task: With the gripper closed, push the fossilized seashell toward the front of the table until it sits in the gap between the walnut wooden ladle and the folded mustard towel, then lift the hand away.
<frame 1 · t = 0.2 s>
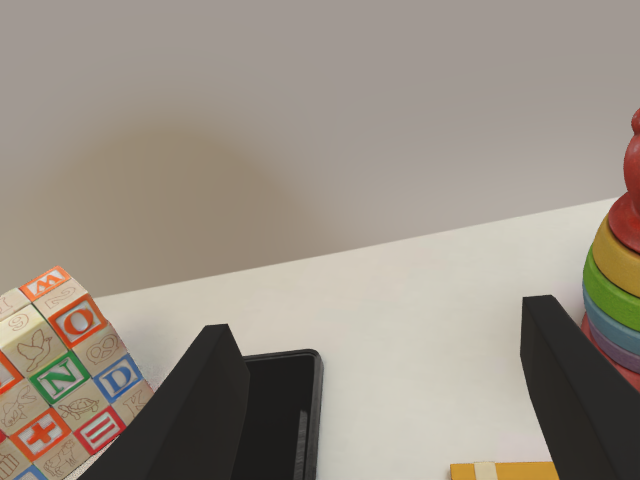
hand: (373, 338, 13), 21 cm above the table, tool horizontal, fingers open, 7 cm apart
phone: (266, 446, 36), on the table
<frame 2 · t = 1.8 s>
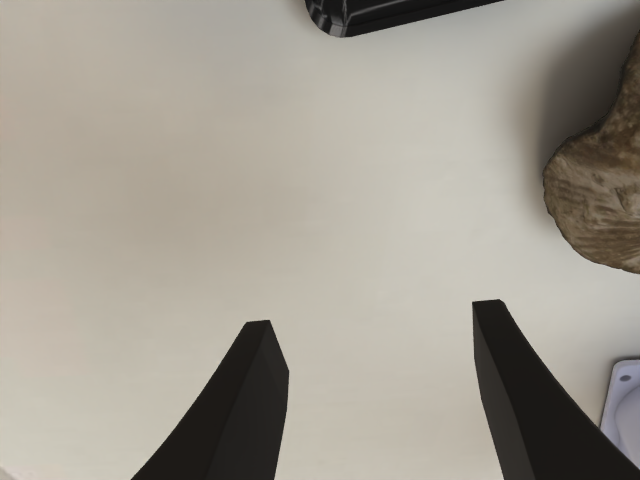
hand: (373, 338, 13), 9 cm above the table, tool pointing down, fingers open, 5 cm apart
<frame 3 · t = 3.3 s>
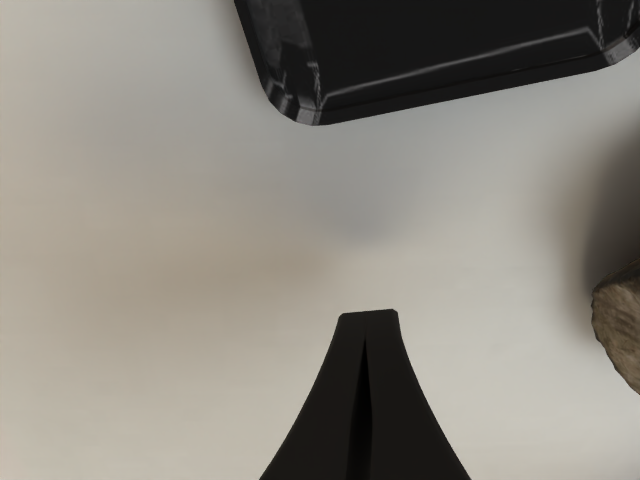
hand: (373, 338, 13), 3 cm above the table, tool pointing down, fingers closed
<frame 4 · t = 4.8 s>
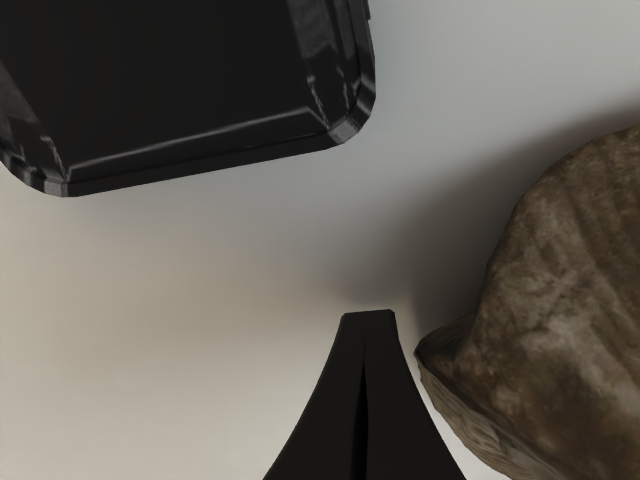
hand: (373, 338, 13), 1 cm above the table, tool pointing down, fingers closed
fossilized seashell: (579, 274, 13), on the table, touching gripper
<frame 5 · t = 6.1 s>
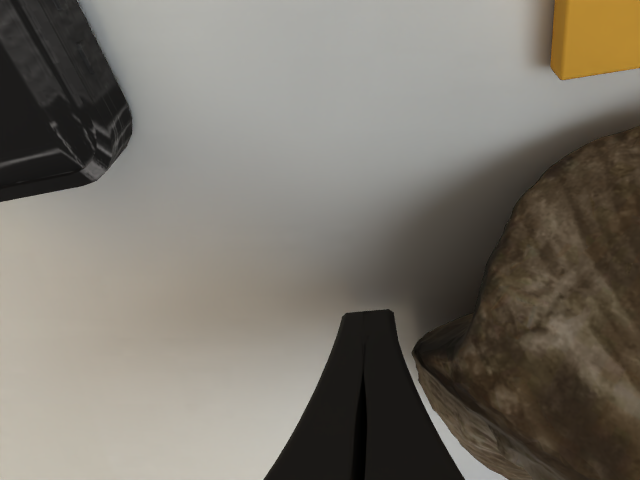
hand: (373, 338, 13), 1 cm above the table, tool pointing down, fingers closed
fossilized seashell: (577, 275, 13), on the table, touching gripper
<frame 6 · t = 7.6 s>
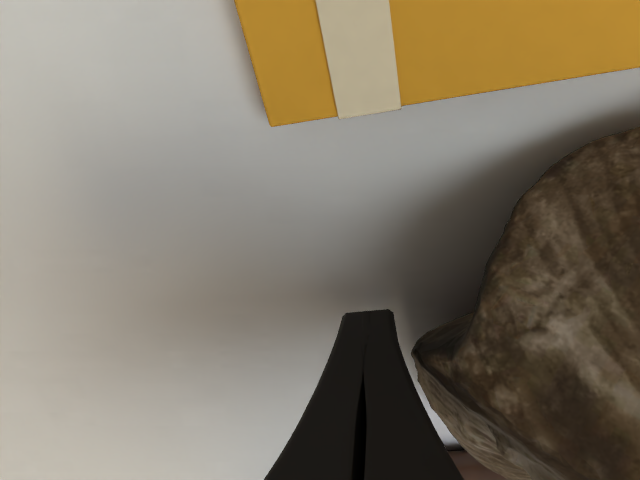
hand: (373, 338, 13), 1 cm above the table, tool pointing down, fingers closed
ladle: (588, 448, 17), on the table
fossilized seashell: (576, 275, 13), on the table, touching gripper
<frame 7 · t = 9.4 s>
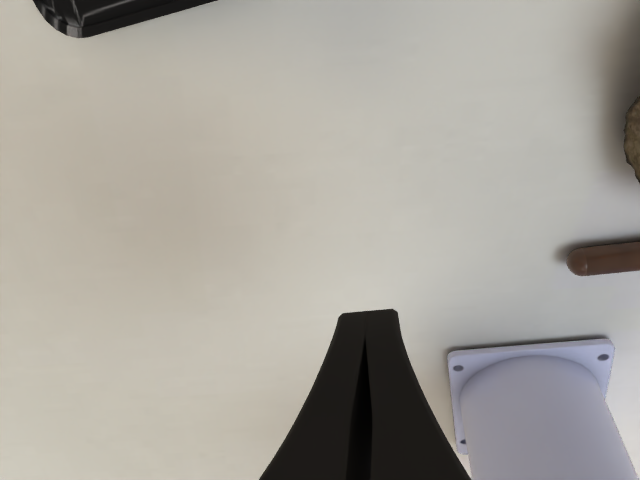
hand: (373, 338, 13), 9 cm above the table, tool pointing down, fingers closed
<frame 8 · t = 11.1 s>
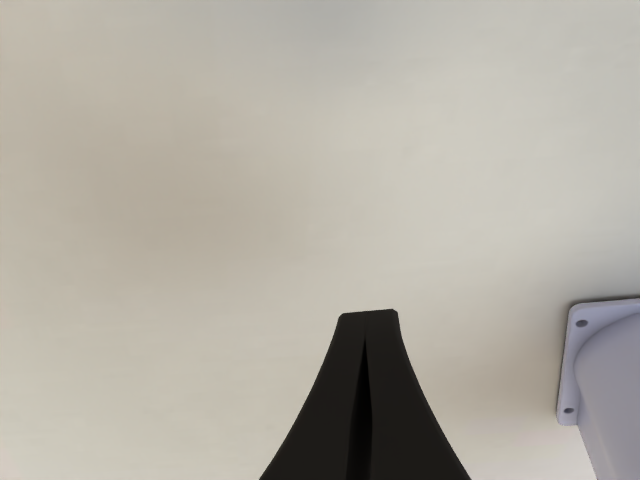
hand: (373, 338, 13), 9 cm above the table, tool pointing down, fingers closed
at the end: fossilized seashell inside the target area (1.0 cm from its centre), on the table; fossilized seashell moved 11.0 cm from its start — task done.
